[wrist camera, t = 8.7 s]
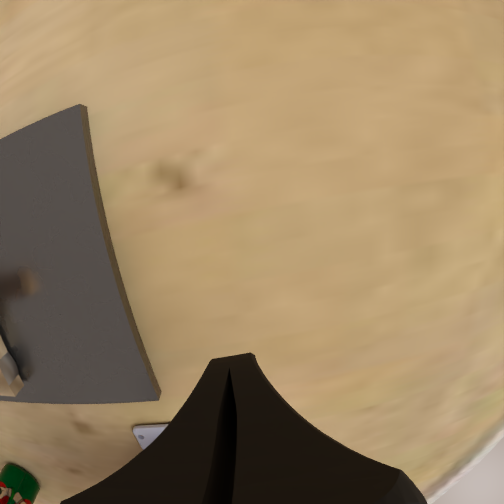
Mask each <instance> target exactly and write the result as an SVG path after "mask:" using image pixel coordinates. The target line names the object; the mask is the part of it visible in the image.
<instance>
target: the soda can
mask: <svg viewBox="0 0 504 504" xmlns="http://www.w3.org/2000/svg"><path fill="white" fill-rule="evenodd" d="M39 490H40V488H39V485H38V482H37V481H36V479H35V478H34V477H33V476H32V475H31V474H30V473H29V472H27V471H26V470H25V469H23V468H21V467H19V466H17V465H14V464H6V465H5V466H4V467H3V469H2V471H1V473H0V504H33V503H34V501H35V499H36V496H37V494H38V492H39Z"/></svg>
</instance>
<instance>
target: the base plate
mask: <svg viewBox="0 0 504 504" xmlns="http://www.w3.org/2000/svg"><path fill="white" fill-rule="evenodd" d="M0 335H1V338H2V340H3V342H4V345H5V347H6V349H7V351H8V353H9V354H10V355H11V356H12V358H13V359H14V361H15V363H16V365H17V368H18V373H19V376H20V378H21V380H22V382H23V384H24V386H23V387H22V389H21V390H20V391H19V392H18V394H17V395H16V396H15V397H13V396H1V395H0V400H1V401H13V402H28V403H49V404H106V403H129V402H145V401H158V400H159V398H160V395H161V390H160V387H159V385H158V382H157V380H156V377H155V375H154V372H153V370H152V367H151V365H150V362H149V359H148V357H147V354H146V351H145V349H144V346H143V343H142V340H141V337H140V335H139V332H138V329H137V326H136V323H135V320H134V317H133V314H132V311H131V308H130V305H129V301H128V298H127V295H126V292H125V288H124V285H123V282H122V278H121V275H120V271H119V268H118V264H117V260H116V257H115V253H114V249H113V245H112V241H111V237H110V233H109V229H108V225H107V221H106V216H105V212H104V207H103V203H102V198H101V193H100V188H99V183H98V178H97V172H96V167H95V161H94V155H93V149H92V143H91V136H90V129H89V121H88V113H87V107H86V106H84V105H81V104H78V105H76V106H73V107H70V108H68V109H65V110H63V111H60V112H58V113H56V114H53V115H51V116H48V117H46V118H44V119H42V120H39V121H37V122H35V123H33V124H31V125H28V126H26V127H24V128H22V129H20V130H18V131H16V132H14V133H12V134H10V135H8V136H6V137H4V138H2V139H0Z"/></svg>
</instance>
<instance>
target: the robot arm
mask: <svg viewBox="0 0 504 504" xmlns="http://www.w3.org/2000/svg"><path fill="white" fill-rule="evenodd" d="M133 433H134V435H135V437H136V439H137V440H138V442H139V444H140V445H141V447H142V449H143V451H142V452H140V453H139V454H138V455H137V456H136V457H135V458H133V459H132V460H131V461H130V462H129V463H127V464H126V465H125V466H123V467H122V468H121V469H119V470H118V471H116V472H115V473H113V474H112V475H110V476H109V477H107V478H106V479H104V480H103V481H101V482H99V483H97V484H96V485H94V486H92V487H90V488H88V489H86V490H84V491H82V492H80V493H78V494H76V495H74V496H72V497H70V498H68V499H66V500H63V501H61V503H60V504H427V501H426V500H425V498H424V496H423V495H422V493H421V492H420V491H419V489H418V488H417V487H416V486H415V484H414V483H413V482H412V481H411V480H410V479H409V477H408V476H407V475H406V474H405V473H404V472H403V471H402V470H400V469H397V468H394V467H391V466H388V465H385V464H382V463H380V462H377V461H375V460H373V459H370V458H368V457H366V456H363V455H361V454H359V453H357V452H355V451H353V450H351V449H349V448H347V447H346V446H344V445H342V444H341V443H339V442H337V441H336V440H334V439H332V438H331V437H329V436H327V435H326V434H324V433H323V432H321V431H320V430H318V429H317V428H316V427H314V426H313V425H312V424H310V423H309V422H308V421H307V420H306V419H304V418H303V417H302V416H301V415H300V414H298V413H297V412H296V411H295V410H294V409H293V408H292V407H291V406H290V405H289V404H288V403H287V402H286V401H285V400H284V399H283V398H282V397H281V396H280V394H279V393H278V392H277V391H276V390H275V388H274V387H273V386H272V385H271V383H270V382H269V381H268V379H267V378H266V377H265V375H264V374H263V372H262V370H261V369H260V367H259V365H258V363H257V361H256V358H255V355H254V354H252V353H246V354H240V355H234V356H228V357H222V358H216V359H212V360H211V361H210V362H209V364H208V366H207V368H206V369H205V371H204V373H203V375H202V377H201V378H200V380H199V382H198V383H197V385H196V387H195V388H194V390H193V391H192V393H191V394H190V396H189V398H188V399H187V401H186V402H185V403H184V405H183V406H182V408H181V409H180V410H179V412H178V413H177V414H176V416H175V417H174V418H173V420H172V421H171V422H170V423H169V424H159V425H140V426H135V427H134V428H133ZM141 435H142V436H141Z"/></svg>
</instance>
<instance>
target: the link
mask: <svg viewBox="0 0 504 504" xmlns="http://www.w3.org/2000/svg"><path fill="white" fill-rule="evenodd" d="M23 386H24V384H23V382H22V380H21V378H20V376H19V373H18V368H17V365H16V363H15V361H14V359H13V358H12V356H11V355H10V354H9V353H8V351H7V349H6V347H5V345H4V342H3V340H2V338H1V335H0V395H1V396H13V397H15V396H16V395H17V394H18V392H19V391H20V390H21V389H22V387H23Z"/></svg>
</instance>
